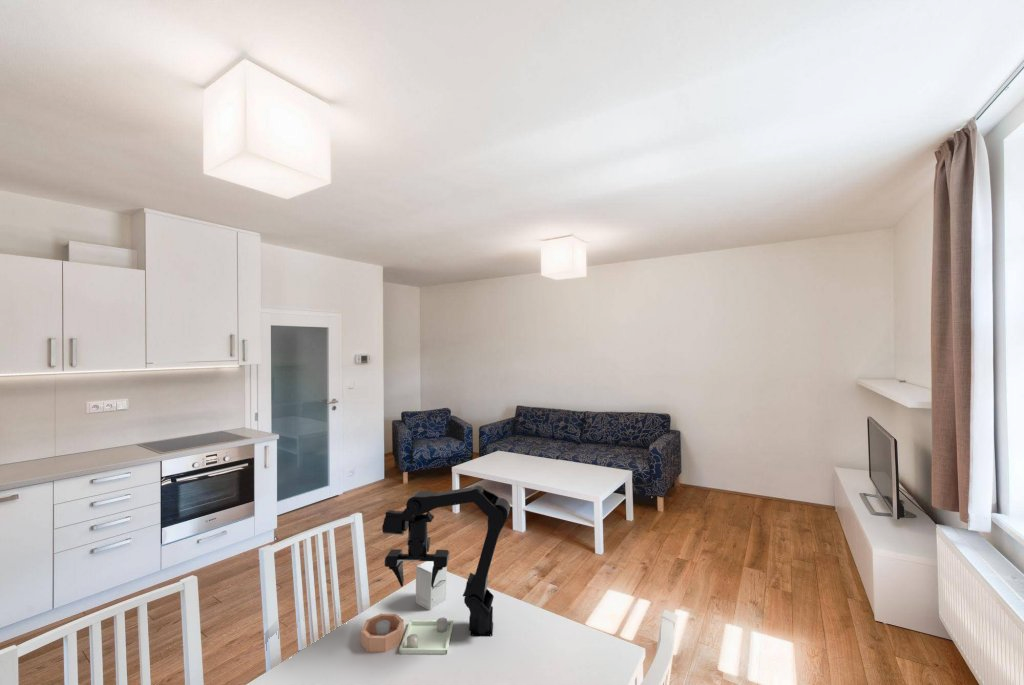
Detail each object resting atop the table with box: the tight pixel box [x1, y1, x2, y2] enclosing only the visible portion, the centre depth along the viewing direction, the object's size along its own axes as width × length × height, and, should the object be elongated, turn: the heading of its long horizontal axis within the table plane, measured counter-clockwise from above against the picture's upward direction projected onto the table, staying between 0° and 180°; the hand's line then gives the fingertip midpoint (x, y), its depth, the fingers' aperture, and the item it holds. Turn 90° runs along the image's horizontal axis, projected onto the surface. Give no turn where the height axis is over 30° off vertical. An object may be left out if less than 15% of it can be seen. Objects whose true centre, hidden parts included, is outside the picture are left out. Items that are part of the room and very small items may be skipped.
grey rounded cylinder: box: [376, 620, 390, 636], centre depth 124 cm, size 4×4×4 cm
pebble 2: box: [436, 617, 448, 633], centre depth 128 cm, size 3×3×3 cm
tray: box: [398, 619, 454, 655], centre depth 124 cm, size 13×13×2 cm
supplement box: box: [415, 561, 448, 611], centre depth 142 cm, size 7×7×13 cm
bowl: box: [360, 613, 405, 653], centre depth 124 cm, size 11×11×4 cm
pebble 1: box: [407, 634, 418, 648], centre depth 120 cm, size 3×3×3 cm
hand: (417, 586), depth 130 cm, fingers open, 9 cm apart
